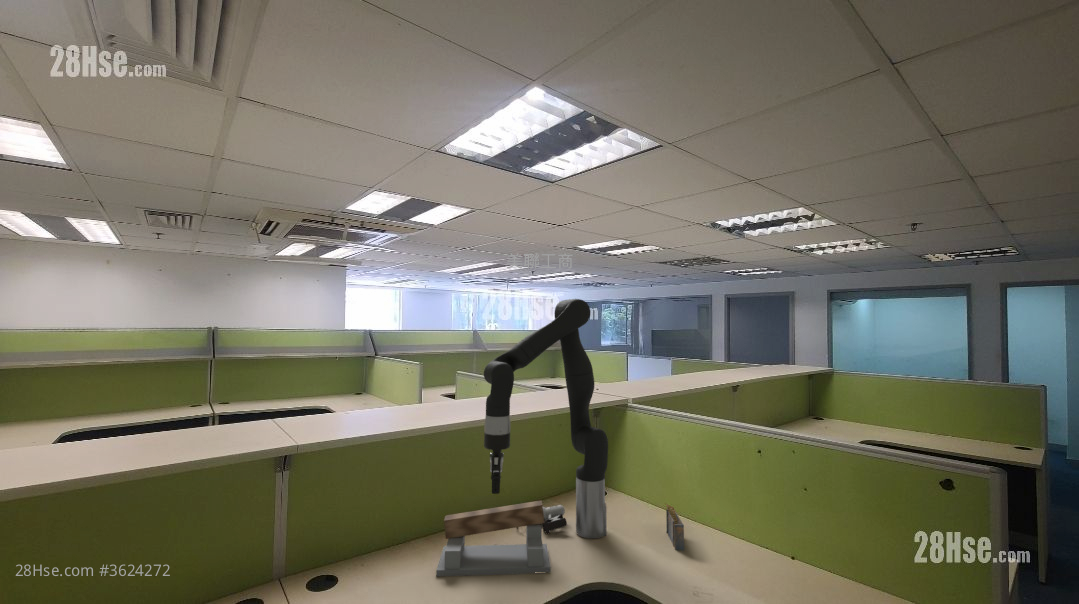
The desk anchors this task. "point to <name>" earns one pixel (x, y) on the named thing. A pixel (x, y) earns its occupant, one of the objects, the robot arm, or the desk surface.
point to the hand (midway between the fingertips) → (496, 488)
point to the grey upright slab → (675, 528)
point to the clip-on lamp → (553, 518)
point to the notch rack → (495, 557)
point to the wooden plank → (493, 519)
